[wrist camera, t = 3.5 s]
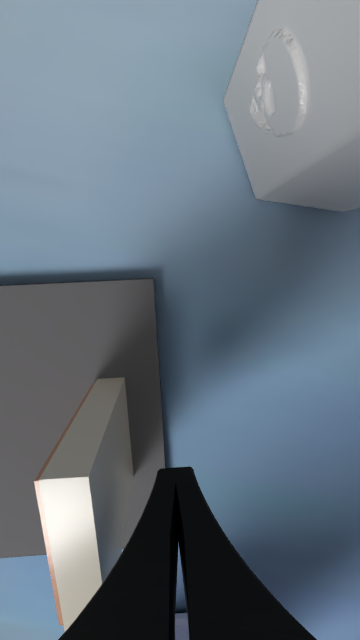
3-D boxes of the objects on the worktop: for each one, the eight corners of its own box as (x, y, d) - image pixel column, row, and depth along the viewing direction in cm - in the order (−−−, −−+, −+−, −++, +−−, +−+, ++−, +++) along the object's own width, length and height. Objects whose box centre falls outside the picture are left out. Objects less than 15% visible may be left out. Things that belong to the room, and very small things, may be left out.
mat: (169, 536, 18) (169, 545, 17) (-94, 555, 18) (-102, 565, 17) (153, 278, 15) (153, 279, 14) (-173, 293, 14) (-188, 295, 14)
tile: (133, 476, 16) (108, 633, 10) (104, 478, 16) (57, 637, 9) (124, 377, 15) (88, 476, 8) (92, 379, 15) (29, 480, 8)
